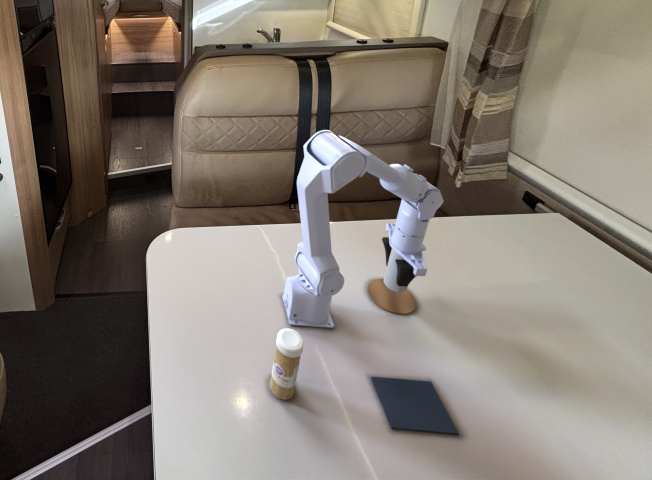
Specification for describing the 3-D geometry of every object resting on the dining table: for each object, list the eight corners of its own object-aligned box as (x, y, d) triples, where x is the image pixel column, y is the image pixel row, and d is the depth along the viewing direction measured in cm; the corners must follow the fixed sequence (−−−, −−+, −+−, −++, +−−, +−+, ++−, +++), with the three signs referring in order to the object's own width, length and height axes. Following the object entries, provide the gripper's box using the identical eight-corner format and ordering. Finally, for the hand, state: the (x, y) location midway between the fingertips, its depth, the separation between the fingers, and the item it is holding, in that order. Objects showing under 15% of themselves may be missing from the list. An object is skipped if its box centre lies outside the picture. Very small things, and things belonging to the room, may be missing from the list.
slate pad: (391, 429, 74) (391, 427, 74) (370, 378, 82) (371, 376, 82) (458, 435, 73) (459, 433, 73) (430, 383, 81) (431, 381, 81)
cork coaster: (377, 313, 96) (377, 311, 96) (360, 278, 105) (361, 277, 105) (424, 316, 95) (424, 314, 95) (403, 281, 104) (403, 280, 104)
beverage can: (409, 295, 96) (422, 254, 91) (386, 292, 97) (398, 251, 92) (402, 279, 100) (414, 239, 96) (380, 276, 101) (390, 236, 97)
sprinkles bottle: (265, 390, 80) (272, 339, 75) (275, 371, 83) (283, 322, 78) (288, 406, 77) (298, 355, 72) (298, 387, 81) (308, 336, 76)
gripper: (448, 253, 85) (431, 303, 90) (412, 208, 99) (400, 254, 104) (411, 251, 86) (397, 301, 91) (381, 207, 99) (370, 252, 104)
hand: (396, 276), depth 98 cm, fingers closed on beverage can, 5 cm apart
